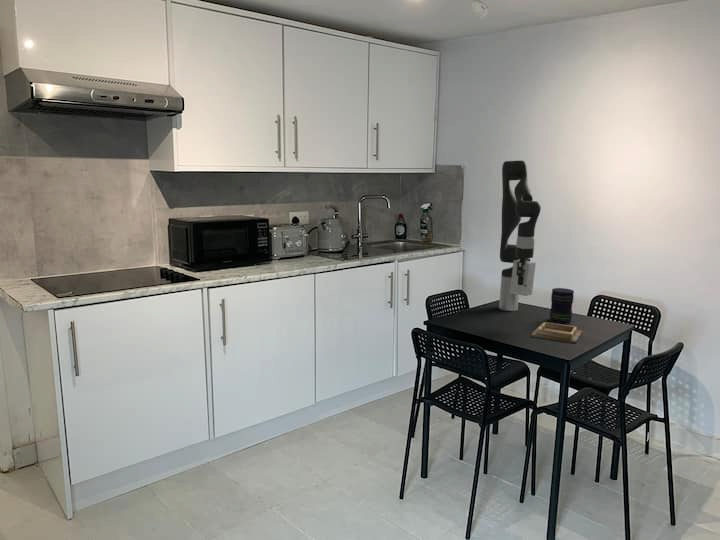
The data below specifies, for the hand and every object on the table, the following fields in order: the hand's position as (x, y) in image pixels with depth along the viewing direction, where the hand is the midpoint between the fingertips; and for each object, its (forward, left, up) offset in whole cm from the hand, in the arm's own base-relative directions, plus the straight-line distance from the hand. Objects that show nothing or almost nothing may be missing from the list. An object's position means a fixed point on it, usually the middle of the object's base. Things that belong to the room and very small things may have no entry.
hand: (522, 283), depth 247 cm
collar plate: (+2, +17, -20) cm, 26 cm away
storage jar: (-23, +14, -21) cm, 34 cm away
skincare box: (0, 0, -5) cm, 5 cm away
